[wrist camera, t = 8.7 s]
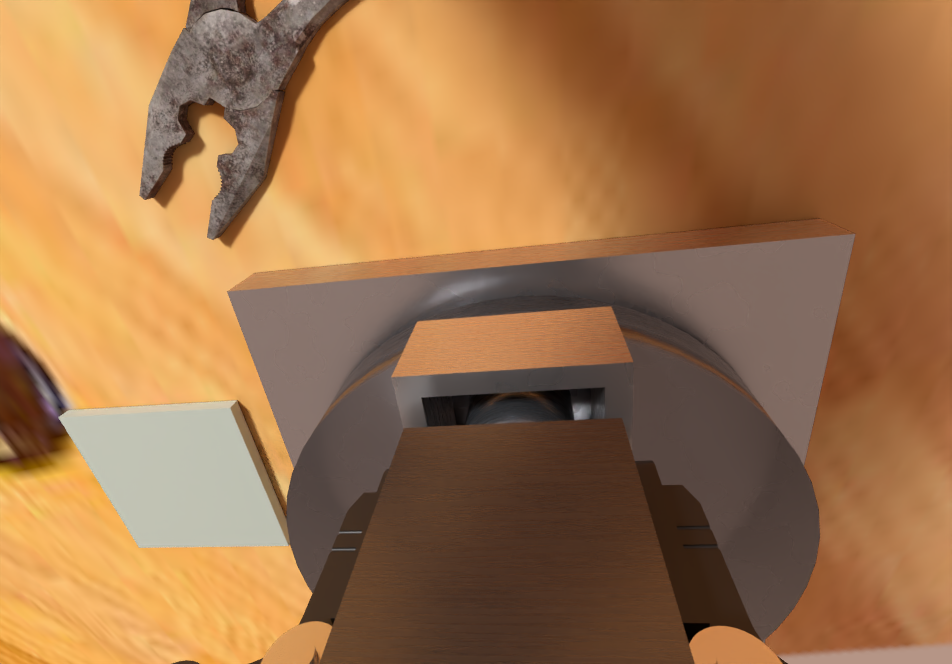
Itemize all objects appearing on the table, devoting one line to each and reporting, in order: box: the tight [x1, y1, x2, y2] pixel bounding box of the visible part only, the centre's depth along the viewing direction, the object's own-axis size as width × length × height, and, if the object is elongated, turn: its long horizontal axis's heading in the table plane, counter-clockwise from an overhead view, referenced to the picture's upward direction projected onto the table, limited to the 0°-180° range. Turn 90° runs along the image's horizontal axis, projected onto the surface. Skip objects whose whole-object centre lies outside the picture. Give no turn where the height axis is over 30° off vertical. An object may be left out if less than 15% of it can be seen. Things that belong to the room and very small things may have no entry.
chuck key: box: [319, 389, 695, 664], centre depth 10 cm, size 4×4×9 cm
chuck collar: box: [286, 295, 820, 641], centre depth 16 cm, size 20×19×9 cm
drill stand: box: [227, 218, 855, 643], centre depth 22 cm, size 21×21×2 cm
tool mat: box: [59, 400, 290, 548], centre depth 25 cm, size 9×9×1 cm
